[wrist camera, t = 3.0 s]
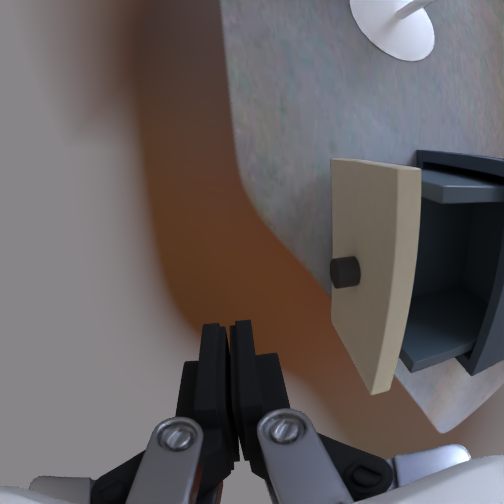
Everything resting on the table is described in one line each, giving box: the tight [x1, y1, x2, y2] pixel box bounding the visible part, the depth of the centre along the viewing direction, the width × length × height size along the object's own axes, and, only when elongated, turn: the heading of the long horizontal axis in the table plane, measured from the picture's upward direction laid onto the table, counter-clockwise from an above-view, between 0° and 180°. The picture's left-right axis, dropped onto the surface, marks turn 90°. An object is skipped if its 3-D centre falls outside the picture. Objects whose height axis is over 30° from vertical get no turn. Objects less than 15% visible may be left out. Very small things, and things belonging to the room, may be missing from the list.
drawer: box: [330, 158, 504, 395], centre depth 15 cm, size 14×11×8 cm
